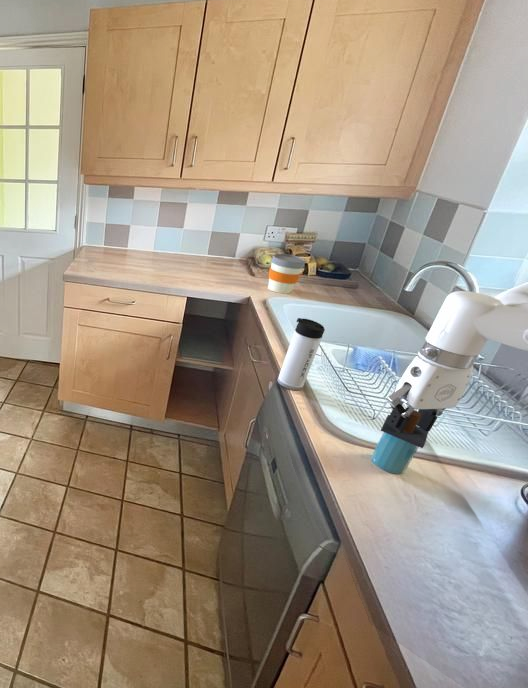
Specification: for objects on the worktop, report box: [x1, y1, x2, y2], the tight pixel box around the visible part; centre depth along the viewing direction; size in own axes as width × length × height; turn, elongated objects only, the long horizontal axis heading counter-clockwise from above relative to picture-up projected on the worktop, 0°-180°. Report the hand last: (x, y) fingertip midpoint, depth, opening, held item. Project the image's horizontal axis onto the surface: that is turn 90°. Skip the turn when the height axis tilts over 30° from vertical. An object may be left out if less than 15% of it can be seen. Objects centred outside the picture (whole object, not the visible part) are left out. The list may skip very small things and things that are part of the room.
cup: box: [370, 431, 420, 475], centre depth 90 cm, size 6×6×9 cm
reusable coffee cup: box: [267, 253, 306, 294], centre depth 183 cm, size 13×13×15 cm
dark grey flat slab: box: [380, 409, 430, 449], centre depth 87 cm, size 7×7×5 cm
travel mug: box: [277, 317, 326, 391], centre depth 115 cm, size 6×7×20 cm
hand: (407, 426), depth 87 cm, fingers open, 5 cm apart
